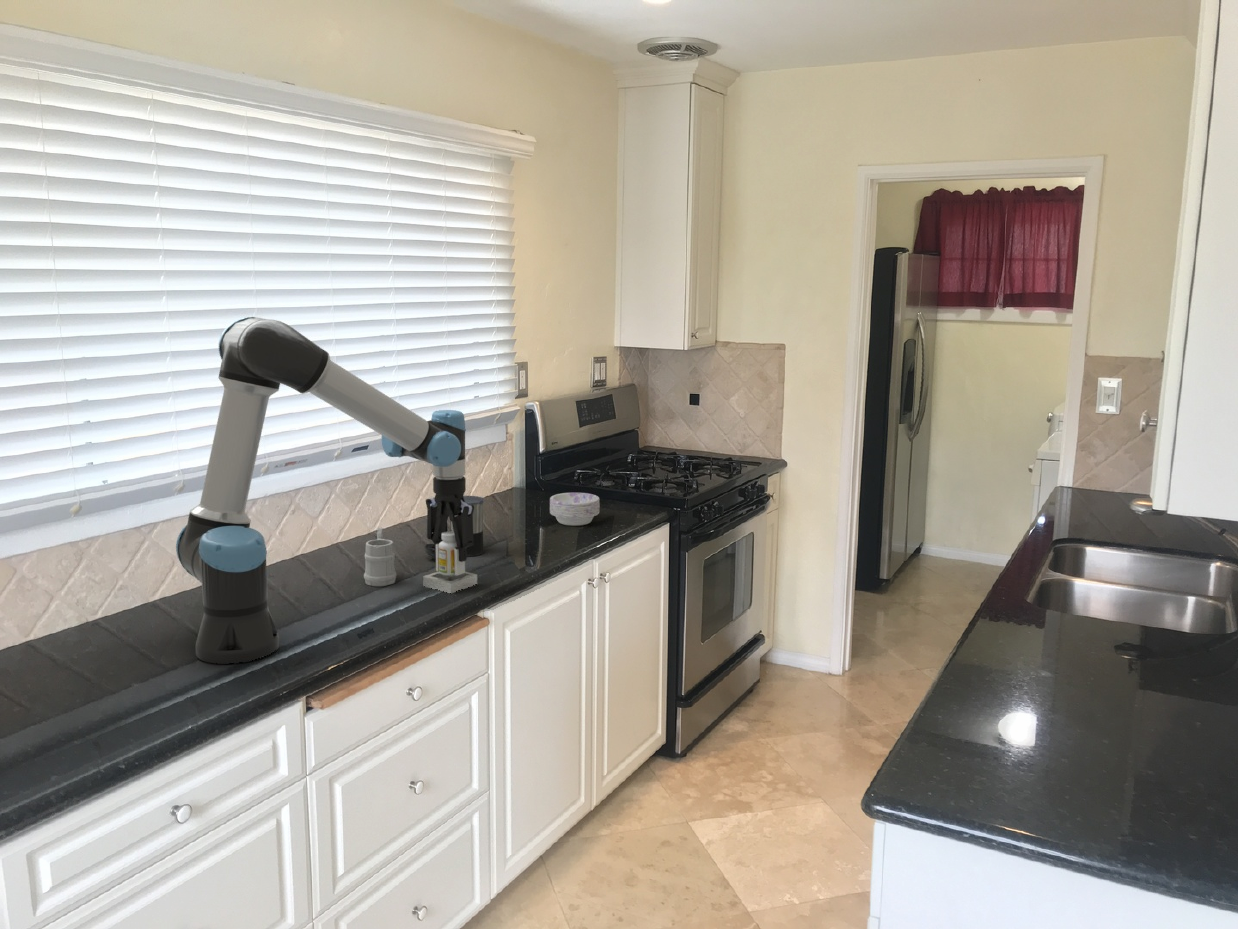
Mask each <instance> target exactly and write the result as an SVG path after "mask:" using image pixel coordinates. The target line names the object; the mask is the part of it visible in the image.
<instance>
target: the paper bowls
mask: <svg viewBox="0 0 1238 929" xmlns="http://www.w3.org/2000/svg"><path fill="white" fill-rule="evenodd" d="M600 508H601V507H600V497H599V496H598V495H596V494H592V493H588V492H562V493H556V494H554V495H552V496H550V497H549V514H550V515H551V516H554V517H555V519H556V520H557V522H558V523H559V524H562V525H564V526H575V527H576V526H579V527H580V526H584V525H588V524H590V523H591V522H592V521H593V519H594V517H595V516H598V515H599V514H600Z"/></svg>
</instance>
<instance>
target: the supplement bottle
mask: <svg viewBox="0 0 1238 929" xmlns="http://www.w3.org/2000/svg"><path fill="white" fill-rule="evenodd" d="M442 540H443V541H442V542H440V543H439V573H440V574H442V575H446V576H451V575H455V556H454V548H455V547H457V544H456V539H455V534H454V532H453V531H448V532H443V533H442Z"/></svg>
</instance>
